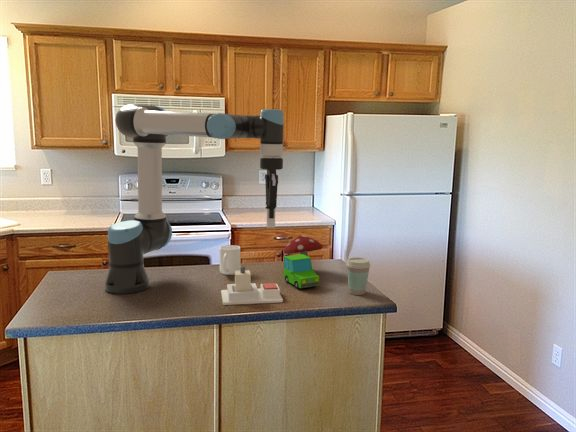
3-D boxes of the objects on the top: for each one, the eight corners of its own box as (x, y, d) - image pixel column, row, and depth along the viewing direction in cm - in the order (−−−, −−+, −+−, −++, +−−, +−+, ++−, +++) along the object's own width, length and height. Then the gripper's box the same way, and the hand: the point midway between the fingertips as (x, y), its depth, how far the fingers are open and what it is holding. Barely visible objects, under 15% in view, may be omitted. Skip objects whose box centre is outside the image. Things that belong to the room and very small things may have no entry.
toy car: (297, 292, 175) (298, 265, 174) (281, 282, 187) (281, 256, 185) (322, 288, 180) (323, 262, 178) (304, 278, 192) (305, 253, 190)
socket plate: (222, 304, 161) (222, 295, 161) (221, 292, 174) (221, 282, 173) (283, 302, 165) (283, 292, 164) (276, 289, 177) (277, 280, 177)
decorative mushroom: (282, 276, 193) (282, 239, 190) (283, 265, 209) (284, 231, 206) (322, 277, 193) (324, 240, 190) (321, 266, 208) (322, 232, 206)
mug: (233, 278, 190) (233, 252, 188) (213, 277, 191) (213, 251, 189) (242, 270, 201) (242, 245, 199) (223, 268, 203) (223, 244, 201)
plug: (235, 297, 166) (235, 269, 164) (234, 292, 171) (234, 265, 169) (250, 297, 166) (250, 268, 165) (249, 292, 171) (249, 264, 170)
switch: (265, 293, 167) (265, 288, 167) (263, 289, 172) (263, 283, 172) (276, 293, 168) (276, 287, 168) (274, 288, 173) (274, 283, 172)
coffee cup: (370, 290, 179) (372, 258, 177) (366, 297, 171) (368, 264, 169) (347, 287, 181) (349, 256, 179) (342, 294, 173) (343, 261, 171)
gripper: (286, 158, 156) (285, 231, 161) (279, 156, 169) (278, 223, 173) (262, 158, 155) (262, 231, 159) (257, 155, 168) (257, 223, 172)
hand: (270, 227), depth 166 cm, fingers closed
